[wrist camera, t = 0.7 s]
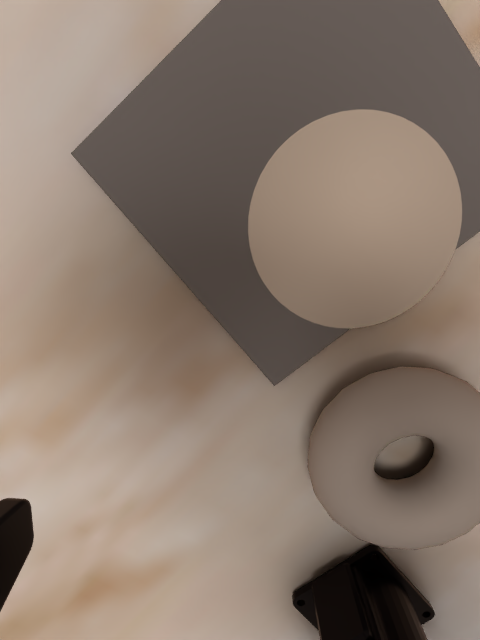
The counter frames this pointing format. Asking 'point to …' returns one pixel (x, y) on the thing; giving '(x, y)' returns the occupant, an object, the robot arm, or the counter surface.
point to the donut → (384, 428)
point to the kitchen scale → (301, 165)
